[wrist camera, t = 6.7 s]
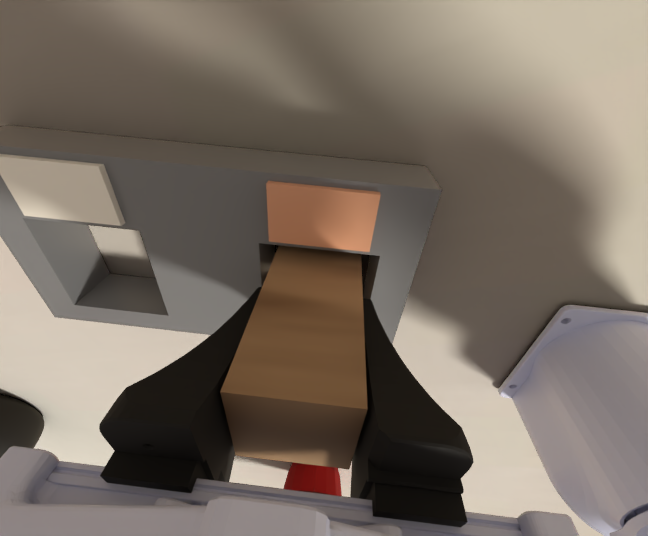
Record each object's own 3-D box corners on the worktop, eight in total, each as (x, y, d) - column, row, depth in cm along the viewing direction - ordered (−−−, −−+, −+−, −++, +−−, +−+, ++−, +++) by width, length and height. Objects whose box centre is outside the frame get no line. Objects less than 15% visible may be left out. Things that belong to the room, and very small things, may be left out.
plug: (350, 309, 17) (349, 469, 10) (281, 301, 17) (235, 455, 10) (360, 250, 14) (367, 409, 8) (280, 241, 14) (220, 392, 8)
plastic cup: (354, 489, 38) (354, 637, 28) (272, 478, 38) (244, 622, 28) (370, 454, 32) (377, 630, 22) (271, 441, 32) (235, 610, 22)
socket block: (384, 317, 19) (389, 359, 17) (91, 285, 20) (50, 320, 17) (426, 166, 13) (444, 192, 11) (7, 125, 14) (-74, 141, 11)
